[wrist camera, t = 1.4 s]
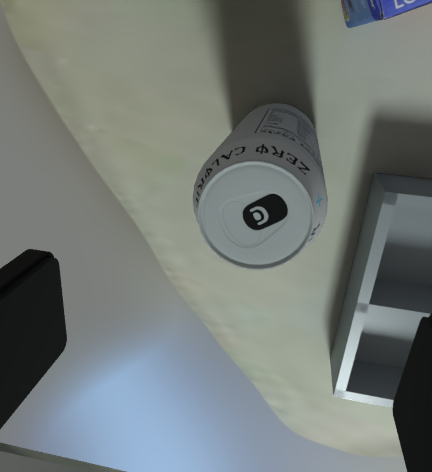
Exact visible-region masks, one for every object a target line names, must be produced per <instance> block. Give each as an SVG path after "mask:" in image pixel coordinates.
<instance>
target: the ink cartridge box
mask: <svg viewBox="0 0 432 472" xmlns="http://www.w3.org/2000/svg"><path fill="white" fill-rule="evenodd" d="M430 3H432V0H341V4H342V9H343V13H344V18H345V22H346V25H347V27H348V28H352V27H356V26H359V25H363V24H366V23H370V22H373V21H377V20H382V19H384V20H385V19H388V18H391V17H394V16H397V15H399V14H402V13H404V12H407V11H410V10H413V9H416V8H419V7H421V6H424V5H427V4H430Z"/></svg>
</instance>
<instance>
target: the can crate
mask: <svg viewBox="0 0 432 472" xmlns="http://www.w3.org/2000/svg"><path fill="white" fill-rule="evenodd" d="M431 313H432V179H425V178H416V177H407V176H398V175H389V174H380V173H374V175H373V179H372V183H371V187H370V192H369V196H368V200H367V204H366V209H365V213H364V217H363V221H362V226H361V230H360V234H359V238H358V243H357V247H356V251H355V255H354V260H353V264H352V268H351V272H350V277H349V281H348V285H347V289H346V294H345V298H344V302H343V306H342V311H341V315H340V319H339V323H338V328H337V332H336V336H335V340H334V345H333V349H332V353H331V358H330V363H331V374H332V385H333V397H338V398H343V399H348V400H354V401H359V402H364V403H369V404H375V405H380V406H385V407H390V408H393V401H394V398H395V395H396V392H397V389H398V386H399V383H400V380H401V377H402V374H403V371H404V368H405V365H406V362H407V359H408V355H409V352H410V349H411V346H412V343H413V340H414V337H415V334H416V331H417V328H418V325H419V322H420V320H421V318H422V317H429V316H430V314H431Z"/></svg>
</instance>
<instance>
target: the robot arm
mask: <svg viewBox="0 0 432 472" xmlns="http://www.w3.org/2000/svg"><path fill="white" fill-rule="evenodd" d="M66 342H67V335H66V325H65V316H64V307H63V297H62V287H61V278H60V268H59V262H58V260H57V259H56V258H54V256H53V254H52V253H51V252H46V251H40V250H33V249H28V250H26V251H25V252H23V253H22V254H20V255H19V256H18V257H16V258H15V259H14V260H12V261H10V262H9V263H8V264H6V265H5V266H3V267H2V268H1V269H0V429H1V428H2V426H3V425H4V424H5V423H6V422H7V420H8V419H9V418H10V416H11V415H12V414H13V413H14V412H15V410H16V409H17V408H18V407H19V405H20V404H21V403H22V402H23V400H24V399H25V398H26V397H27V395H28V394H29V393H30V392H31V391H32V389H33V388H34V387H35V386H36V384H37V383H38V382H39V381H40V379H41V378H42V377H43V376H44V374H45V373H46V372H47V371H48V369H49V368H50V367H51V366H52V365H53V363H54V362H55V360H57V358H58V357H59V356H60V355H61V353H62V352H63V350H64V348H65V346H66ZM393 417H394V421H395V425H396V429H397V433H398V436H399V440H400V444H401V448H402V452H403V456H404V460H405V464H406V468H407V472H432V313H431V314H430V316H429V317H422V318H421V320H420V322H419V325H418V328H417V331H416V334H415V337H414V340H413V343H412V346H411V349H410V352H409V355H408V359H407V362H406V365H405V368H404V371H403V374H402V377H401V380H400V383H399V386H398V389H397V392H396V395H395V398H394V401H393ZM0 472H125V471H121V470H117V469H112V468H108V467H104V466H99V465H95V464H91V463H87V462H82V461H78V460H74V459H70V458H65V457H61V456H56V455H52V454H47V453H43V452H39V451H34V450H30V449H26V448H21V447H17V446H12V445H8V444H4V443H0Z"/></svg>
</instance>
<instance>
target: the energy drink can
mask: <svg viewBox="0 0 432 472" xmlns="http://www.w3.org/2000/svg"><path fill="white" fill-rule="evenodd" d="M327 202H328V198H327V192H326V185H325V180H324V174H323V168H322V162H321V156H320V151H319V145H318V139H317V134H316V131H315V128H314V126H313V124H312V123H311V121H310V119H309V118H308V117H307V116H306V115H305V114H304V113H303V112H301V111H300V110H298V109H297V108H295V107H292V106H290V105H287V104H281V103H272V104H267V105H263V106H260V107H258V108H256V109H254V110H253V111H251V112H250V113H249V114H247V115H246V116H245V118H244V119H243V120H242V121H241V122H240V123H239V124H238V125H237V127H236V128H235V129H234V130H233V131H232V132H231V133H230V135H229V136H228V137H227V138H226V139H225V140H224V142H223V143H222V144H221V145H220V146H219V147H218V148H217V150H216V151H215V152H214V153H213V154H212V155H211V156H210V158H209V159H208V160H207V161H206V162H205V164H204V165H203V167H202V169H201V170H200V172H199V174H198V176H197V179H196V182H195V185H194V193H193V205H194V212H195V215H196V219H197V222H198V224H199V227H200V231H201V234H202V236H203V237H204V239H205V241H206V243H207V244H208V245H209V247H210V248H211V249H212V251H214V252H215V253H216V254H217V255H218V256H219V257H220V258H222V259H224V260H225V261H227V262H228V263H230V264H233V265H235V266H238V267H241V268H246V269H252V270H264V269H271V268H274V267H278V266H281V265H283V264H285V263H287V262H288V261H290V260H292V259H293V258H294V257H295V256H297V255H298V254H299V253H300V252H302V251H303V250H304V249H305V248H307V247H308V246H309V245H310V244H311V243H312V242H313V240H314V239H315V238H316V237H317V235H318V234H319V232H320V230H321V228H322V226H323V224H324V221H325V217H326V213H327Z"/></svg>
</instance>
